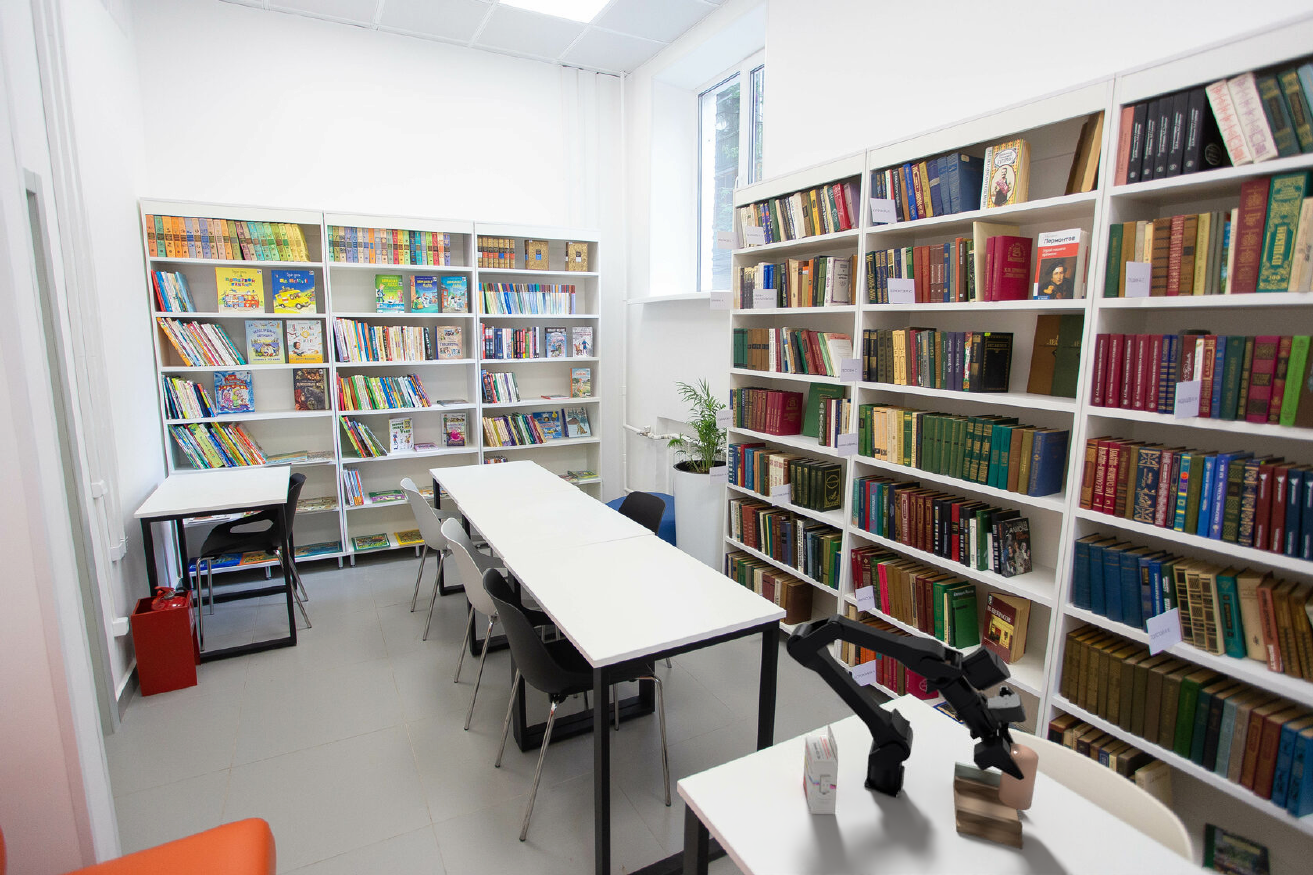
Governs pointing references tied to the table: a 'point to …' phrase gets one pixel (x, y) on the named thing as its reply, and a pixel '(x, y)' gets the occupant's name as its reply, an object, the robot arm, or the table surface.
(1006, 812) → the walnut shelf
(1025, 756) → the peach pink cylinder
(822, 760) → the ink cartridge box
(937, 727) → the table surface
